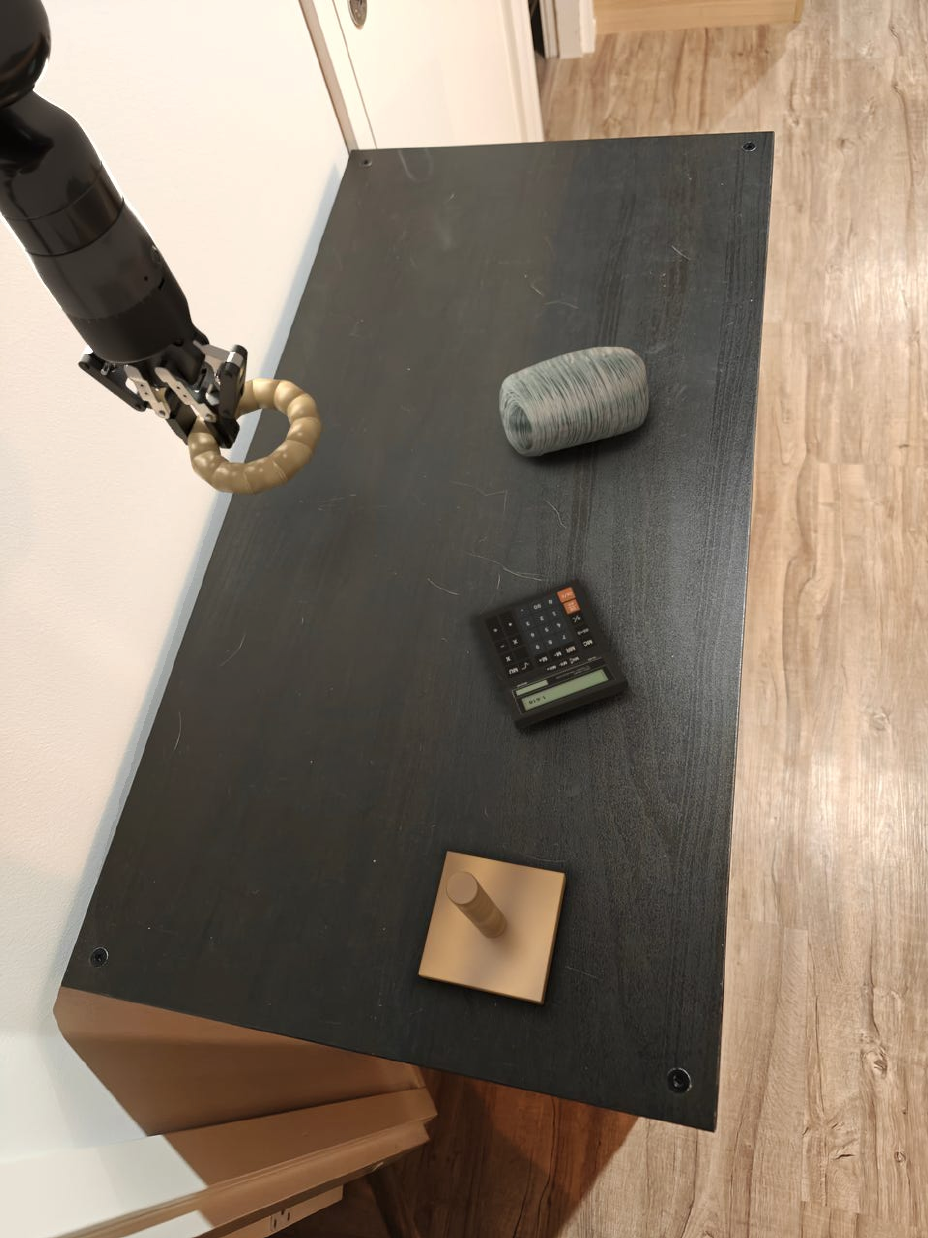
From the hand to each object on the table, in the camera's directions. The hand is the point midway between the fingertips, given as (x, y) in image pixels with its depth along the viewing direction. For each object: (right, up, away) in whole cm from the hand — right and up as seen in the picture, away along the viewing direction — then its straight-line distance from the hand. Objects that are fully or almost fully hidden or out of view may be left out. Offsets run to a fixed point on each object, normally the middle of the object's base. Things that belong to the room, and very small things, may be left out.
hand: (213, 438), depth 77 cm
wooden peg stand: (+23, -37, -8) cm, 44 cm away
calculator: (+28, -18, +2) cm, 33 cm away
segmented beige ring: (+4, 0, -2) cm, 4 cm away
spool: (+31, +3, +12) cm, 34 cm away
